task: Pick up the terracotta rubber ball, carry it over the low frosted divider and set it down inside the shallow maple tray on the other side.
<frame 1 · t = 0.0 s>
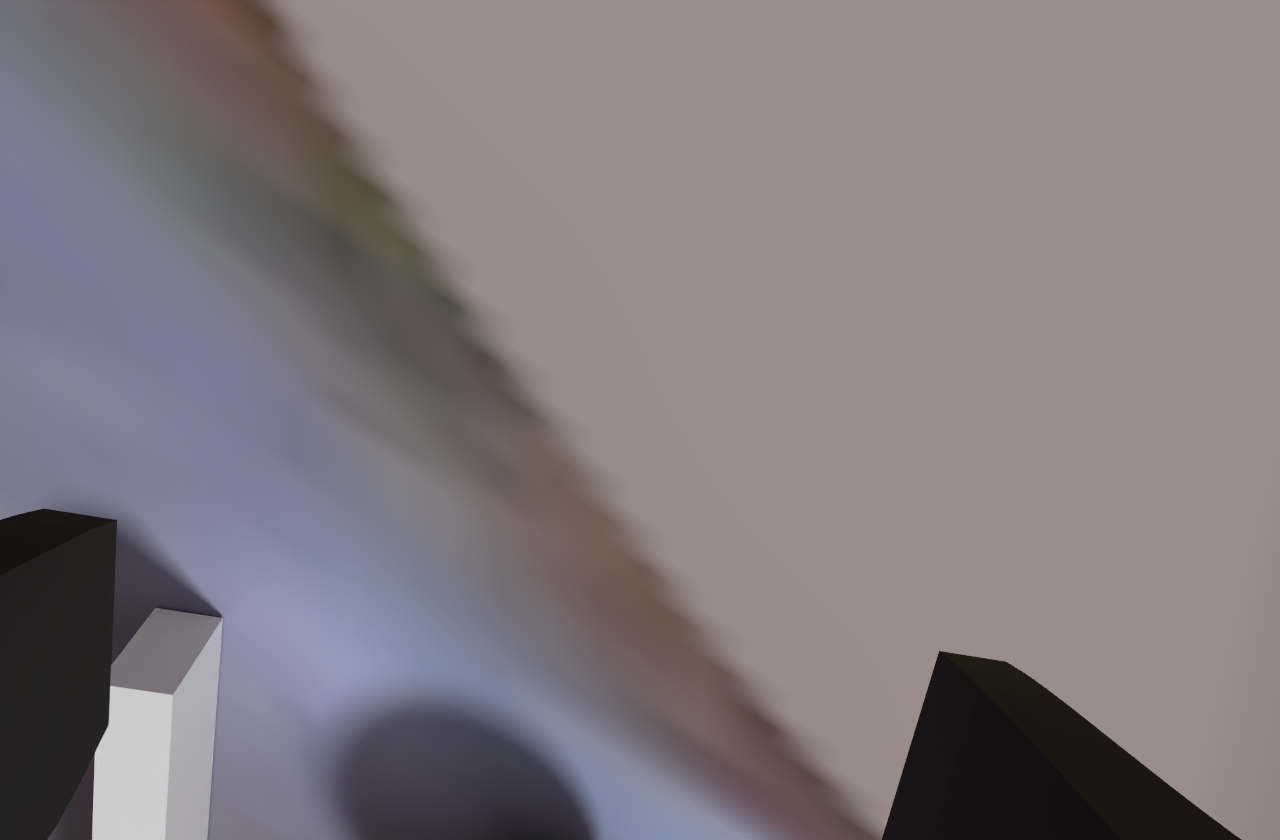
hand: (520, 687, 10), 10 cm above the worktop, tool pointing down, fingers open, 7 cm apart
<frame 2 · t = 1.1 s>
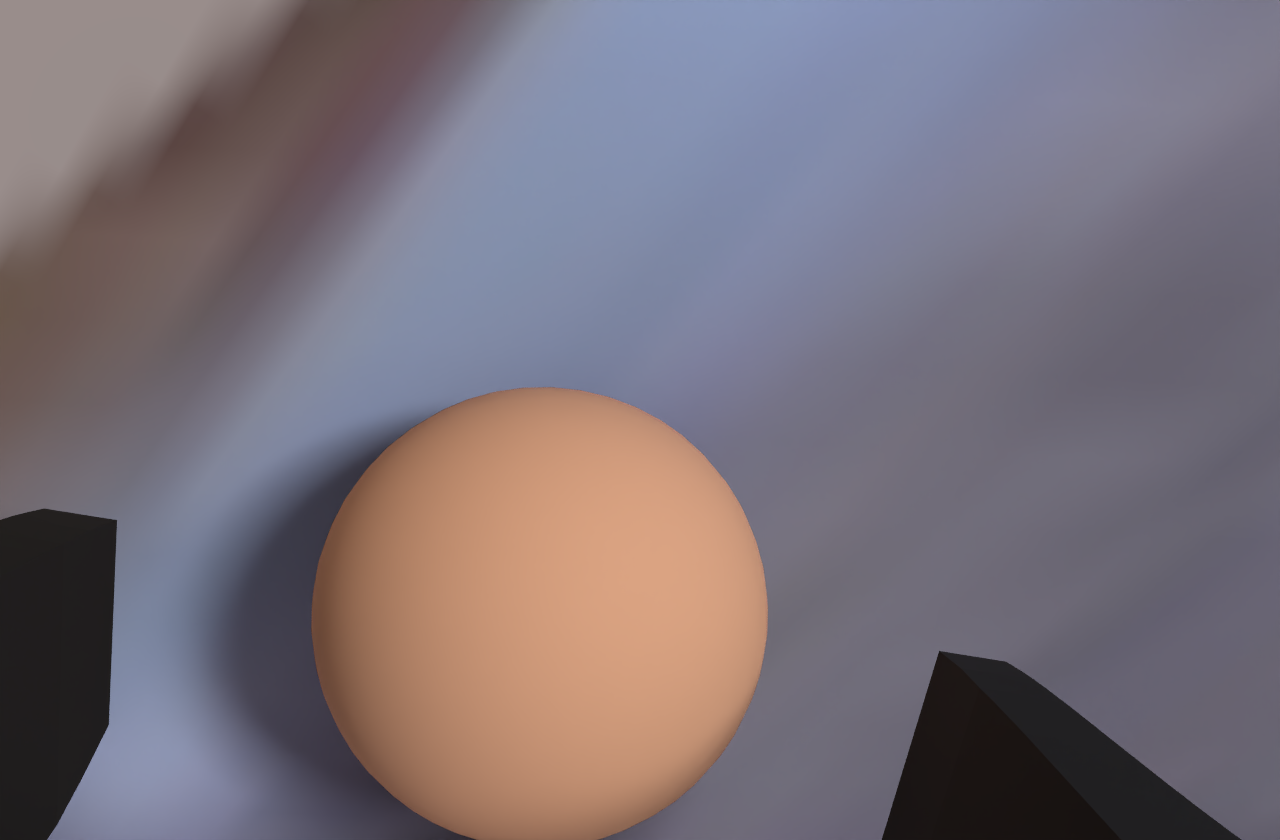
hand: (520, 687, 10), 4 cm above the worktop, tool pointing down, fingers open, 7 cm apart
ball: (557, 518, 14), on the worktop
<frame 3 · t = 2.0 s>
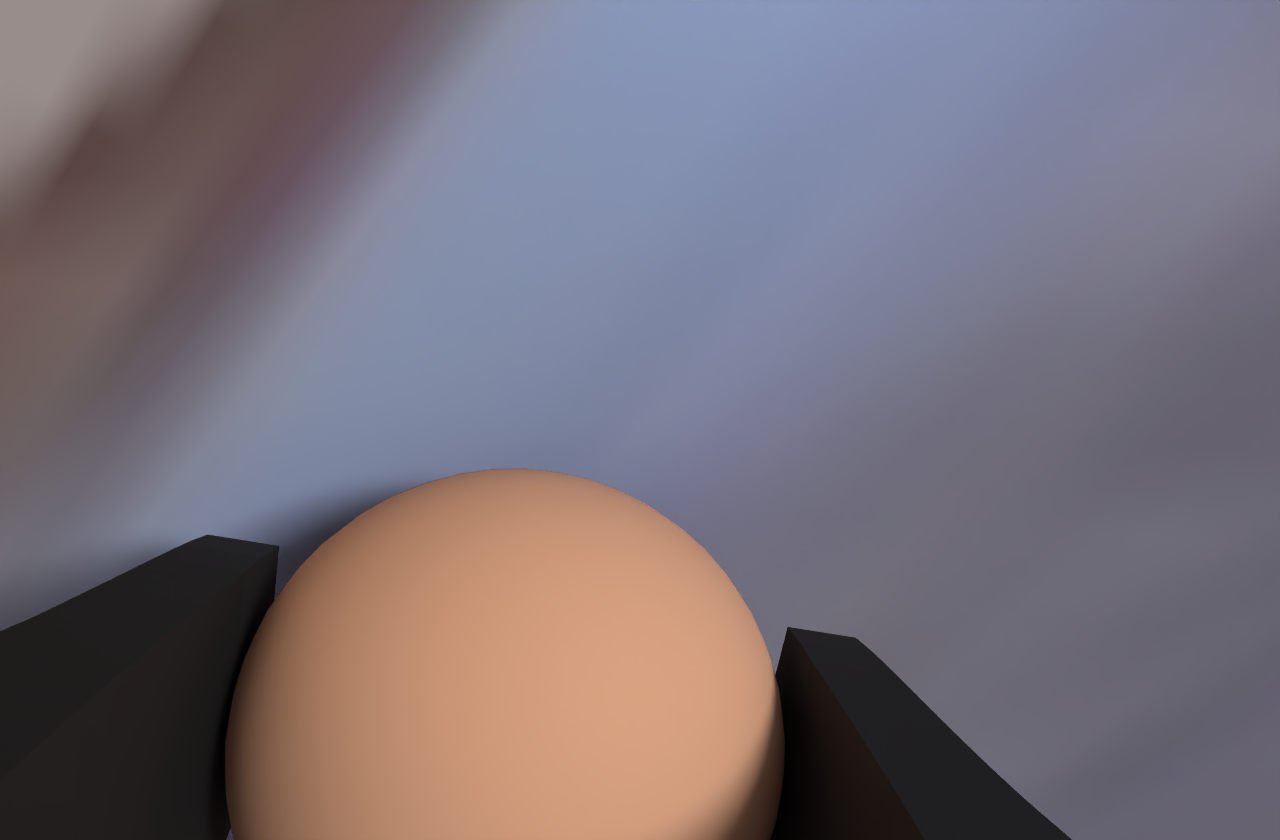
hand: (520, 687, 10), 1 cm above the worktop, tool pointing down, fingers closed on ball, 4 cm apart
ball: (532, 608, 12), on the worktop, touching gripper
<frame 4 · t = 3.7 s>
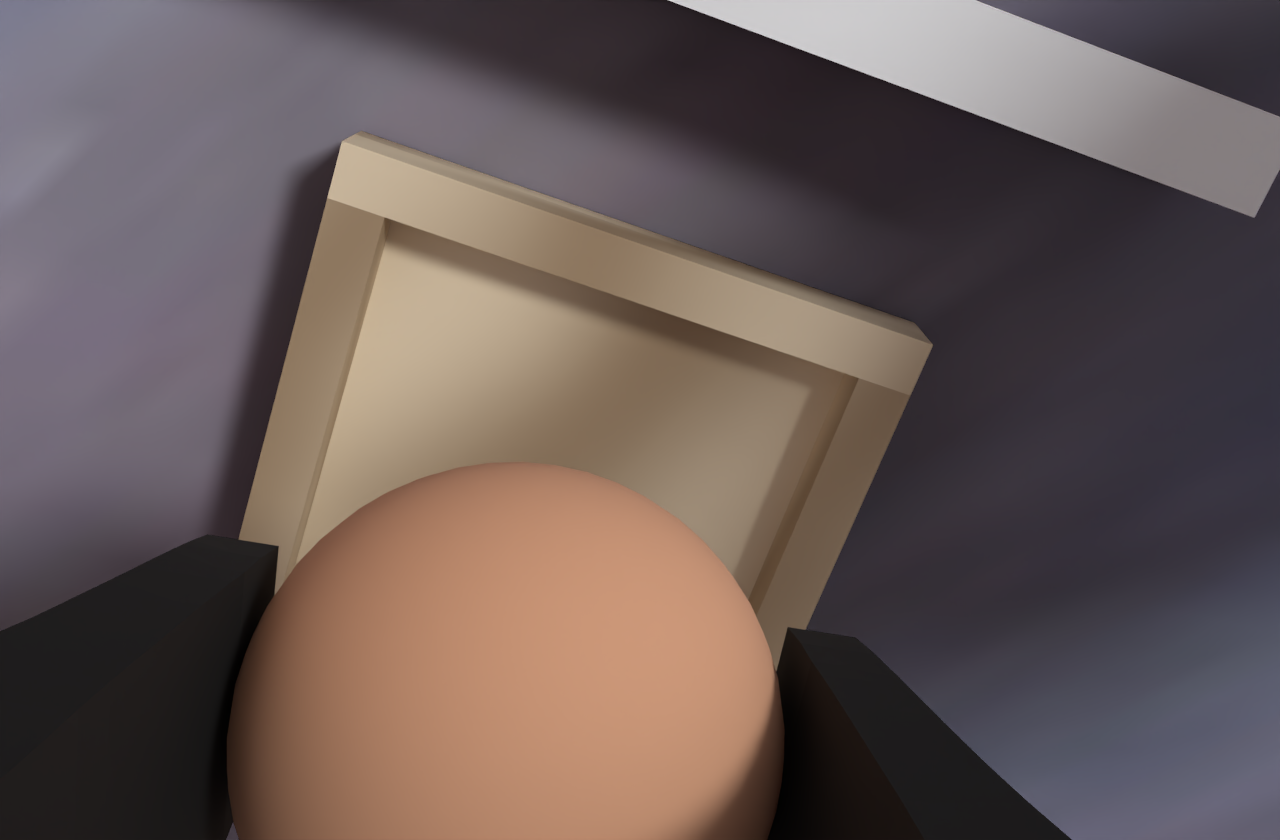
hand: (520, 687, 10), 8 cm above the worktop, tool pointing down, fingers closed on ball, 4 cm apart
ball: (528, 601, 12), point 7 cm above the worktop, touching gripper
tray: (555, 484, 19), on the worktop
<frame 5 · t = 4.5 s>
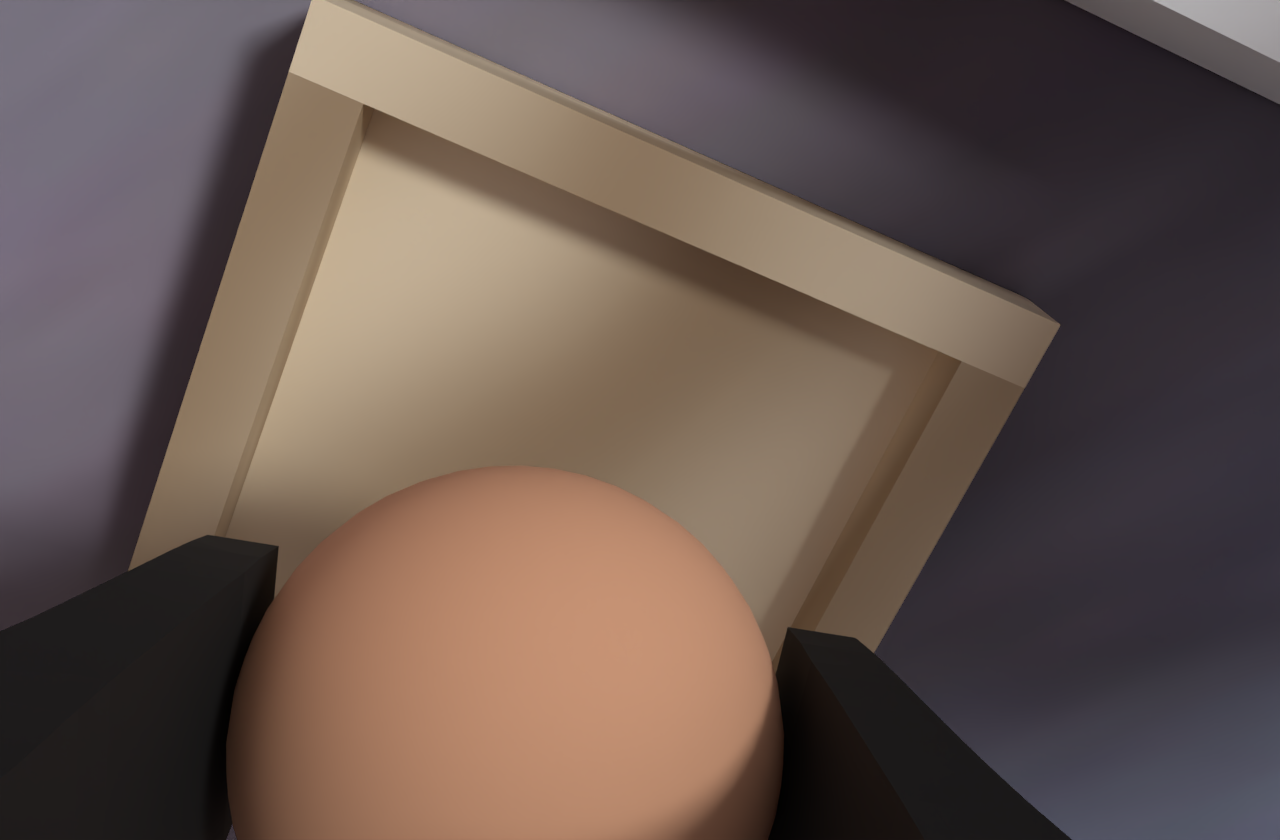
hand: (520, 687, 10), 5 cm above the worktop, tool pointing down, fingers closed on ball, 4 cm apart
ball: (527, 604, 12), point 3 cm above the worktop, touching gripper
tray: (557, 472, 15), on the worktop
when the fingers open (3 cm above the worktop, at t = 5.3 s): ball drops 1 cm, resting on tray.
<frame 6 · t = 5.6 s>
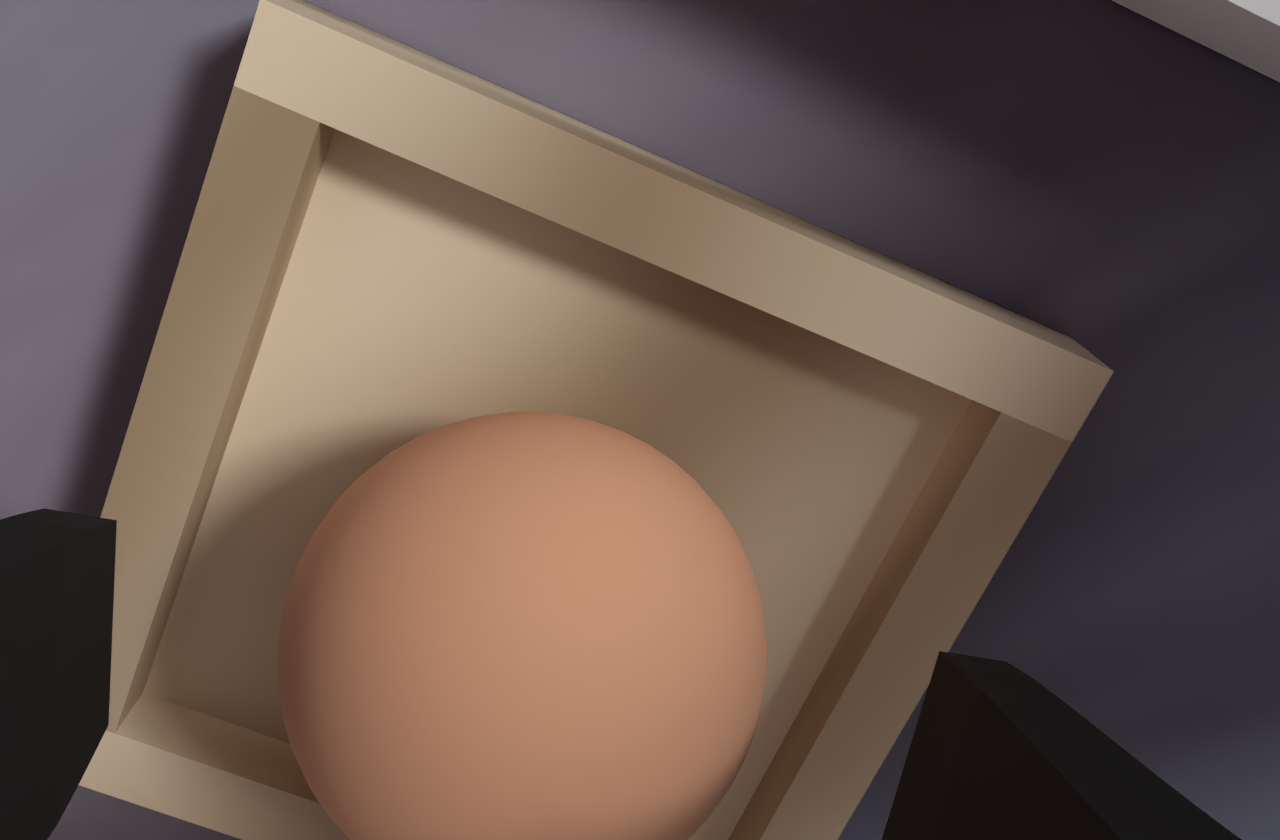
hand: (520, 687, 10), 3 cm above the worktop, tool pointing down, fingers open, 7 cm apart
ball: (537, 544, 13), resting on tray
tray: (544, 530, 13), on the worktop
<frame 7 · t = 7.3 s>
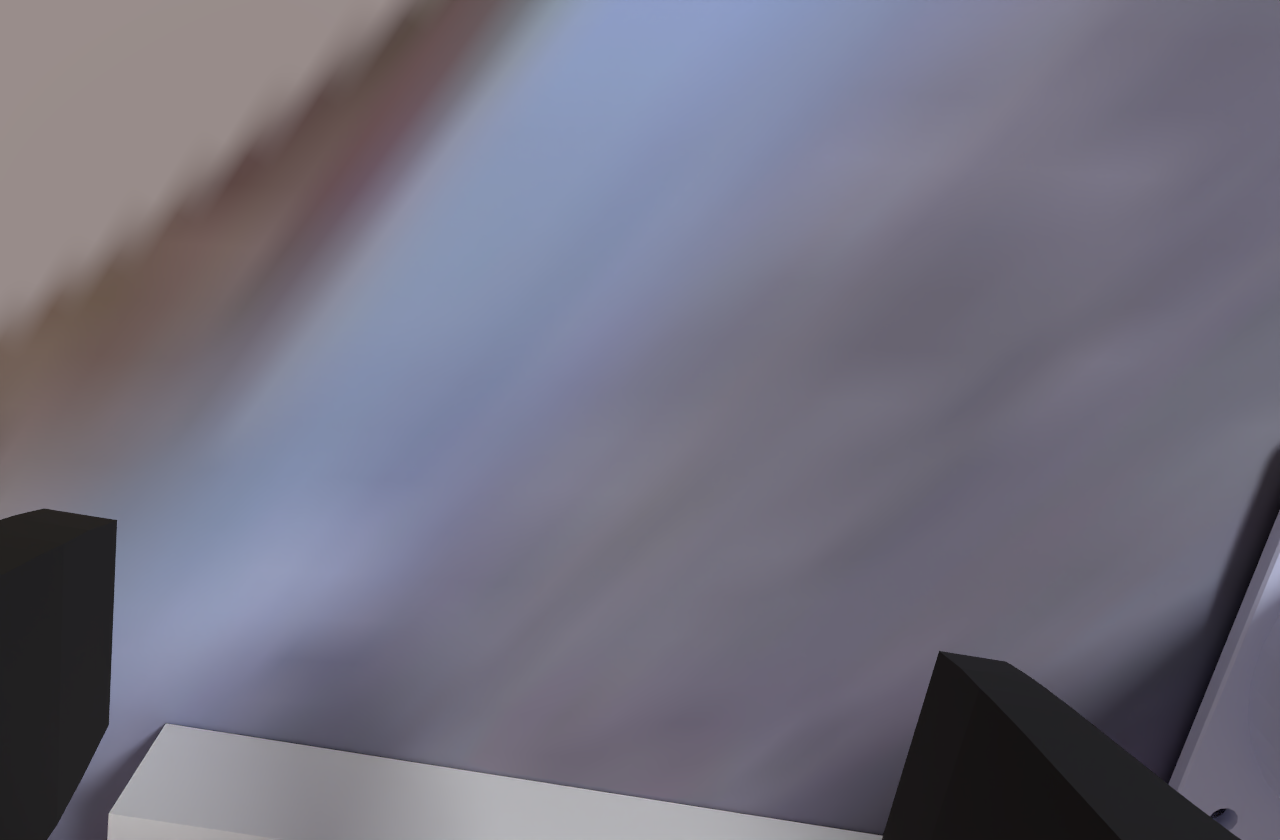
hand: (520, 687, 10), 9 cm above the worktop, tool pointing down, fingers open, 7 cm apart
divider: (545, 810, 22), on the worktop
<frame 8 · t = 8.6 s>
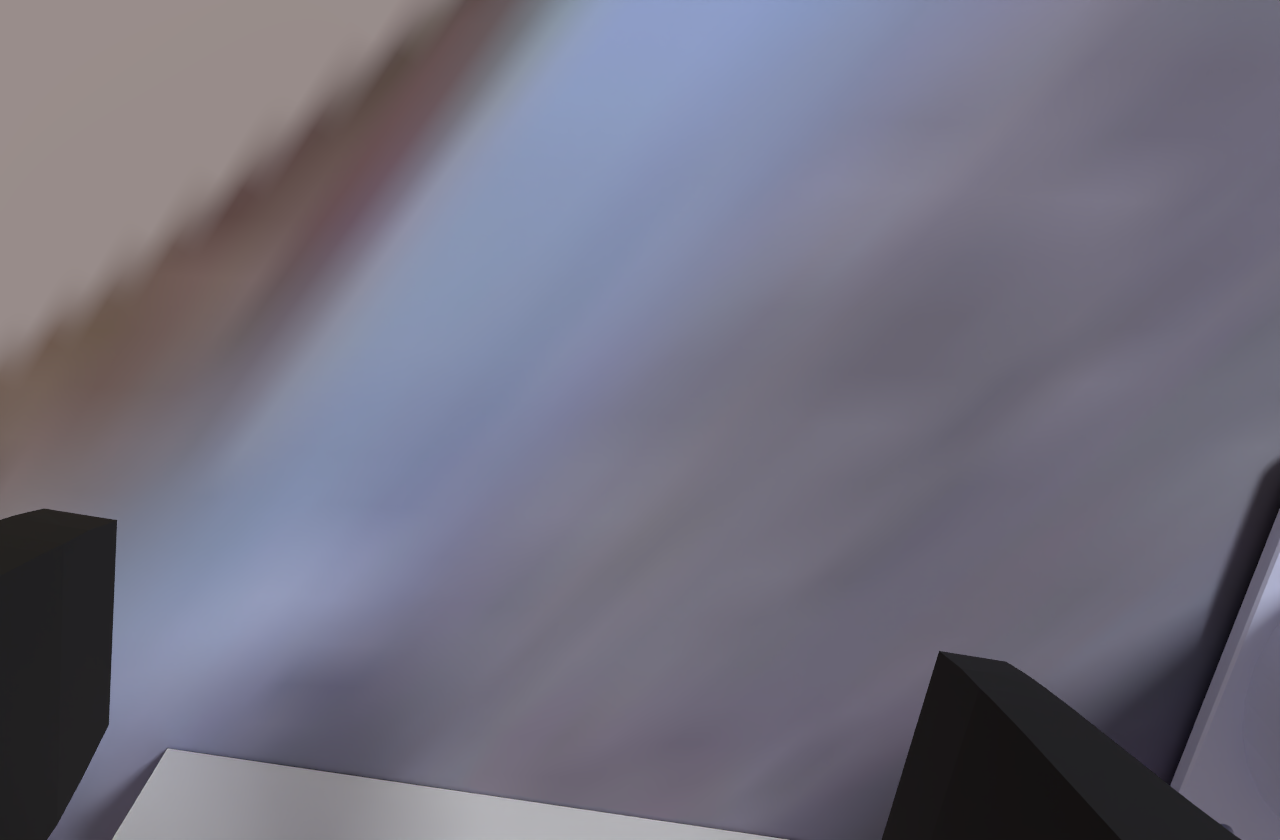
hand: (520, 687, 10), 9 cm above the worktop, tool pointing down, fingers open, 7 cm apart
divider: (545, 831, 22), on the worktop
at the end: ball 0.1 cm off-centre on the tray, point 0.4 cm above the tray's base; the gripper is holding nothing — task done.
